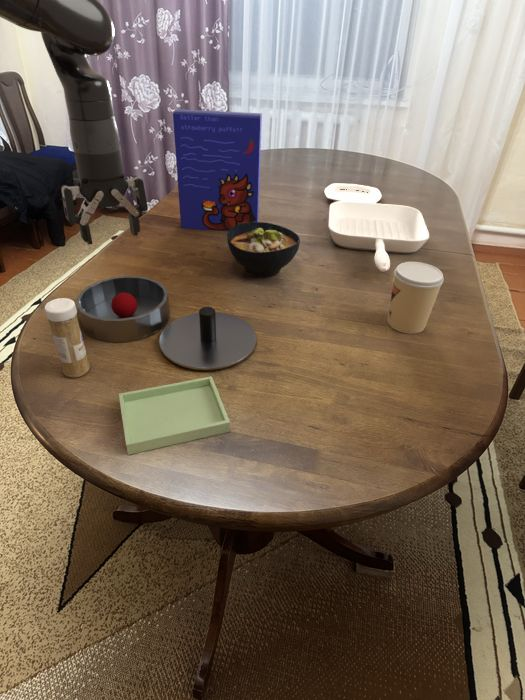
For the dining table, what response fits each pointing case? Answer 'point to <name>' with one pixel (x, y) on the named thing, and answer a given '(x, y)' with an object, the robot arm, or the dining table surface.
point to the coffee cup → (413, 296)
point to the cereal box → (217, 168)
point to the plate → (352, 193)
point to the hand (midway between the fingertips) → (112, 238)
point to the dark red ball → (124, 305)
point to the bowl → (262, 247)
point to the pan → (377, 228)
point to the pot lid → (207, 340)
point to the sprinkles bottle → (67, 336)
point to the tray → (172, 414)
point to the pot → (116, 329)
